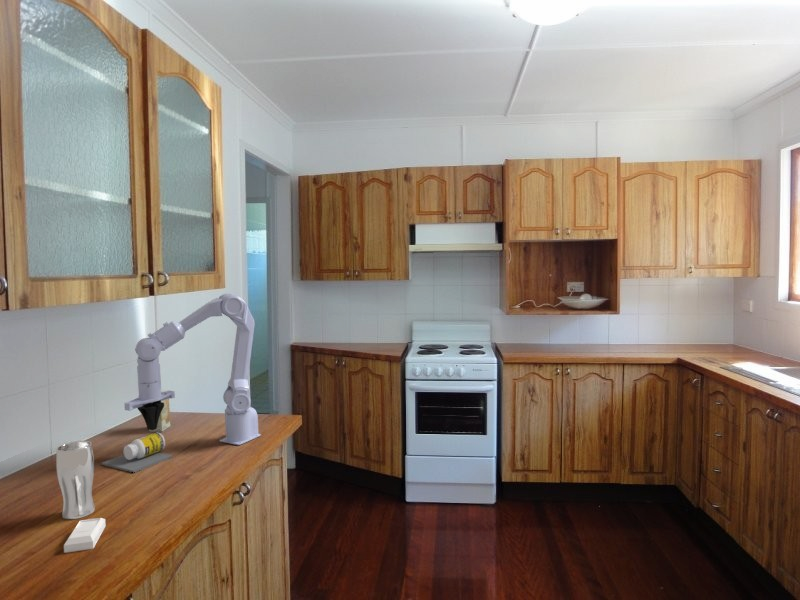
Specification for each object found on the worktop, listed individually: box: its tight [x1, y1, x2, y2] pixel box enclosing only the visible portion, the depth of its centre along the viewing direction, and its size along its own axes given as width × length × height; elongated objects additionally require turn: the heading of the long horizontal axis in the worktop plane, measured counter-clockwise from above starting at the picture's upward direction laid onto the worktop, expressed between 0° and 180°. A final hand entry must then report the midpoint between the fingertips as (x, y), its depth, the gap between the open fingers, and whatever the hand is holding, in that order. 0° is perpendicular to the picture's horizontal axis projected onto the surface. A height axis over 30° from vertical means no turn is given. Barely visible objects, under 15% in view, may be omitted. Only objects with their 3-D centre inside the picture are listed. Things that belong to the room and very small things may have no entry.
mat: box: [101, 451, 173, 474], centre depth 146 cm, size 12×13×1 cm
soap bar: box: [63, 517, 106, 554], centre depth 106 cm, size 5×9×3 cm, turn 16°
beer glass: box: [55, 440, 96, 520], centre depth 116 cm, size 7×7×15 cm
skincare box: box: [148, 389, 171, 433], centre depth 173 cm, size 6×4×12 cm
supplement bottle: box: [122, 432, 166, 460], centre depth 148 cm, size 5×5×10 cm
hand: (152, 429), depth 150 cm, fingers closed
